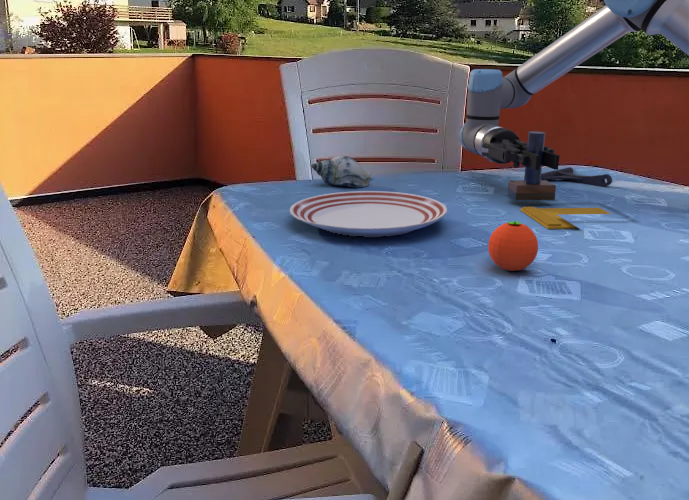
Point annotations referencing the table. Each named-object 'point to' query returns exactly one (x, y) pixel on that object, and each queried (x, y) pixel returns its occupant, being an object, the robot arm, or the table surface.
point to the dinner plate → (369, 212)
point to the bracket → (577, 177)
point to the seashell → (342, 172)
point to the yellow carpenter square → (553, 221)
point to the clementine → (513, 246)
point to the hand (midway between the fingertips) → (547, 162)
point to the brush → (533, 175)
